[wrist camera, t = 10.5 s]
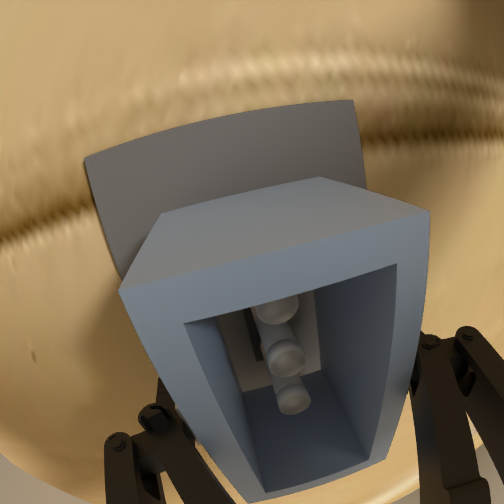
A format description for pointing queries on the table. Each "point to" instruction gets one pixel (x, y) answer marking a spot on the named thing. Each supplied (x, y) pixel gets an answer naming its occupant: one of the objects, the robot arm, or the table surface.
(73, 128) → the table surface
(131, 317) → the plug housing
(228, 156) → the header
